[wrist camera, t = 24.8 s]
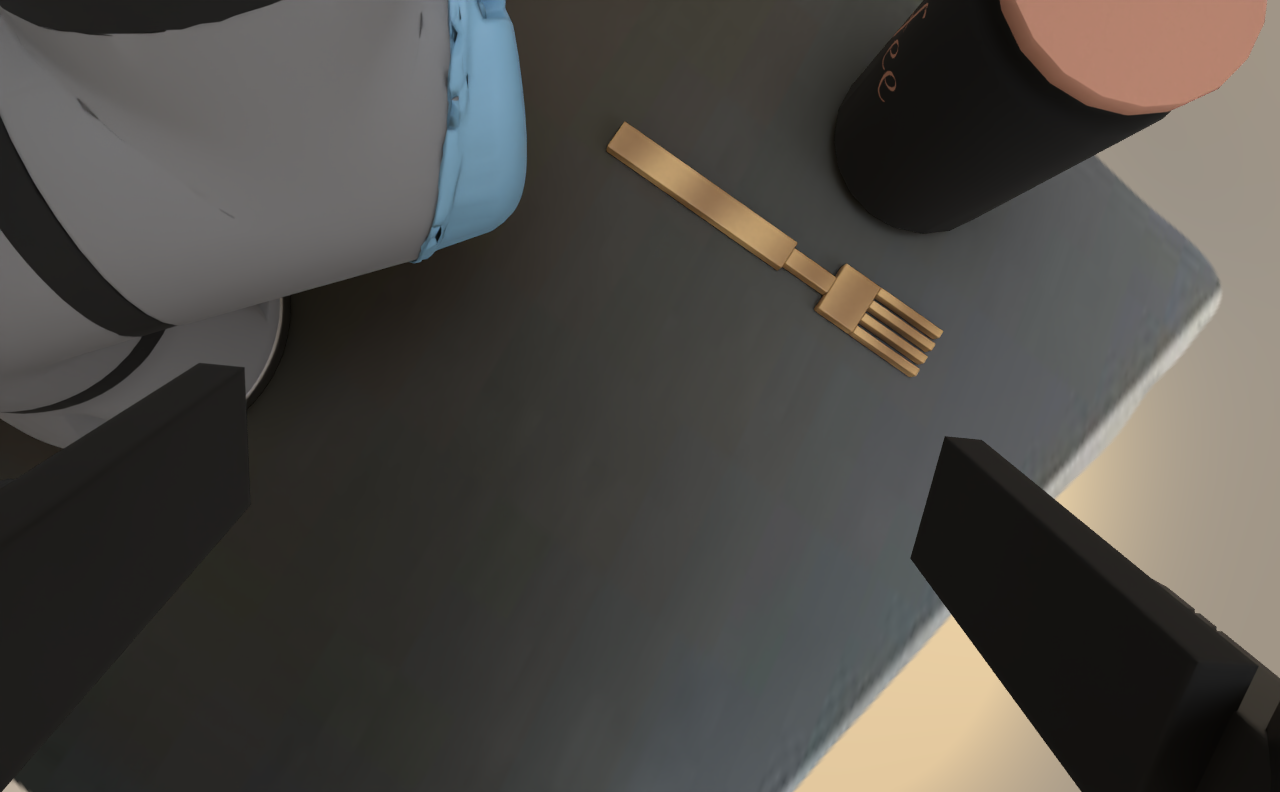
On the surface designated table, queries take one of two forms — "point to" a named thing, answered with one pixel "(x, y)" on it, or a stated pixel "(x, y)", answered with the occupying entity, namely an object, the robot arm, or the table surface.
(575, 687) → the table surface
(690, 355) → the table surface
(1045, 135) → the coffee jar
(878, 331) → the tan flat long part
